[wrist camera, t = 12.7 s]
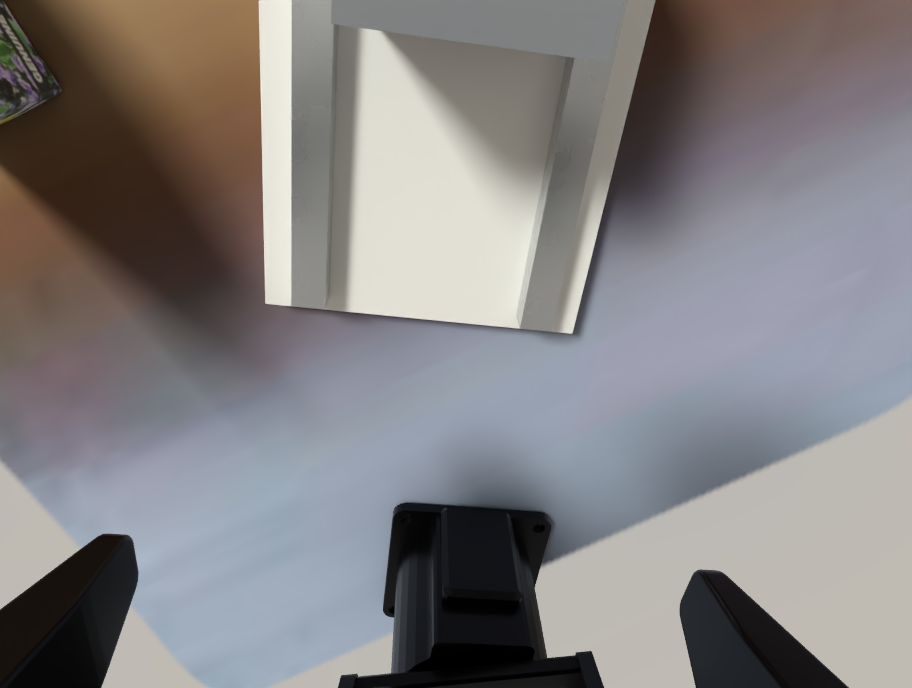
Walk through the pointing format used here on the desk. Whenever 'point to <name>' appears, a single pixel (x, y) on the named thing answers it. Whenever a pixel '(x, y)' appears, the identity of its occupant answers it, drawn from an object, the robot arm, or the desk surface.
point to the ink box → (21, 71)
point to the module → (496, 23)
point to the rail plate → (435, 169)
